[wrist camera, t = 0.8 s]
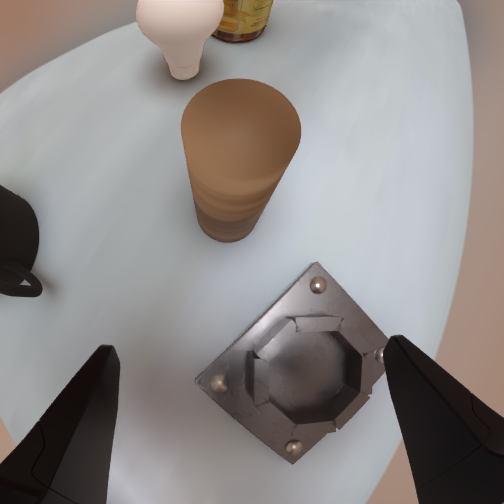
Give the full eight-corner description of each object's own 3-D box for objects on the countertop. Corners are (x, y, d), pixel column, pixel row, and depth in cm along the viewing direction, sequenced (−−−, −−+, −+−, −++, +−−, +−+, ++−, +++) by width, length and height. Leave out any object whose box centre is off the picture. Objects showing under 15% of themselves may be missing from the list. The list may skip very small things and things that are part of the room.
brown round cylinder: (226, 255, 23) (239, 205, 11) (184, 211, 23) (156, 122, 11) (269, 214, 24) (324, 131, 11) (228, 173, 24) (243, 62, 11)
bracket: (289, 459, 21) (300, 480, 18) (195, 378, 21) (192, 392, 18) (393, 351, 23) (418, 356, 20) (313, 263, 23) (329, 257, 20)
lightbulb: (142, 98, 24) (115, 4, 13) (161, 50, 25) (149, -41, 14) (212, 104, 24) (215, 4, 14) (225, 55, 25) (234, -39, 15)
